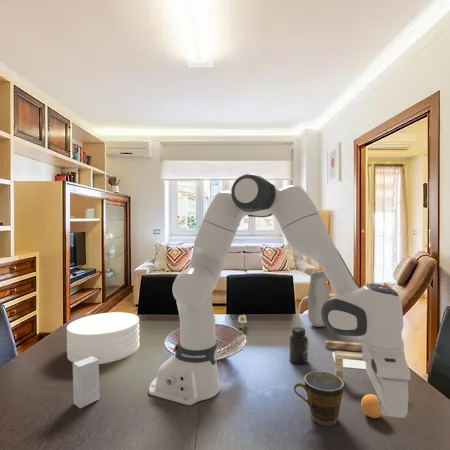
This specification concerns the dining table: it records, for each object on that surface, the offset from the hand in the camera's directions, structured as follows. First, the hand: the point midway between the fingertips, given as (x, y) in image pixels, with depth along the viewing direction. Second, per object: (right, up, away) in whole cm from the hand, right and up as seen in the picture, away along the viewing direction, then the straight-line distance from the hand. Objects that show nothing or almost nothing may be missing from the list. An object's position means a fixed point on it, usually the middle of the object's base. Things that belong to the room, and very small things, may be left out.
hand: (384, 412), depth 71 cm
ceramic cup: (-13, -7, +9) cm, 17 cm away
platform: (-29, -8, +78) cm, 84 cm away
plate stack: (-88, -8, +54) cm, 104 cm away
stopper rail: (+12, -7, +52) cm, 54 cm away
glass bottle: (+9, -7, +79) cm, 80 cm away
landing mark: (+9, -7, +41) cm, 43 cm away
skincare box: (-79, -8, +17) cm, 81 cm away
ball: (+2, -4, +9) cm, 10 cm away
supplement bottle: (-10, -7, +42) cm, 44 cm away
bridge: (+6, -7, +26) cm, 27 cm away
